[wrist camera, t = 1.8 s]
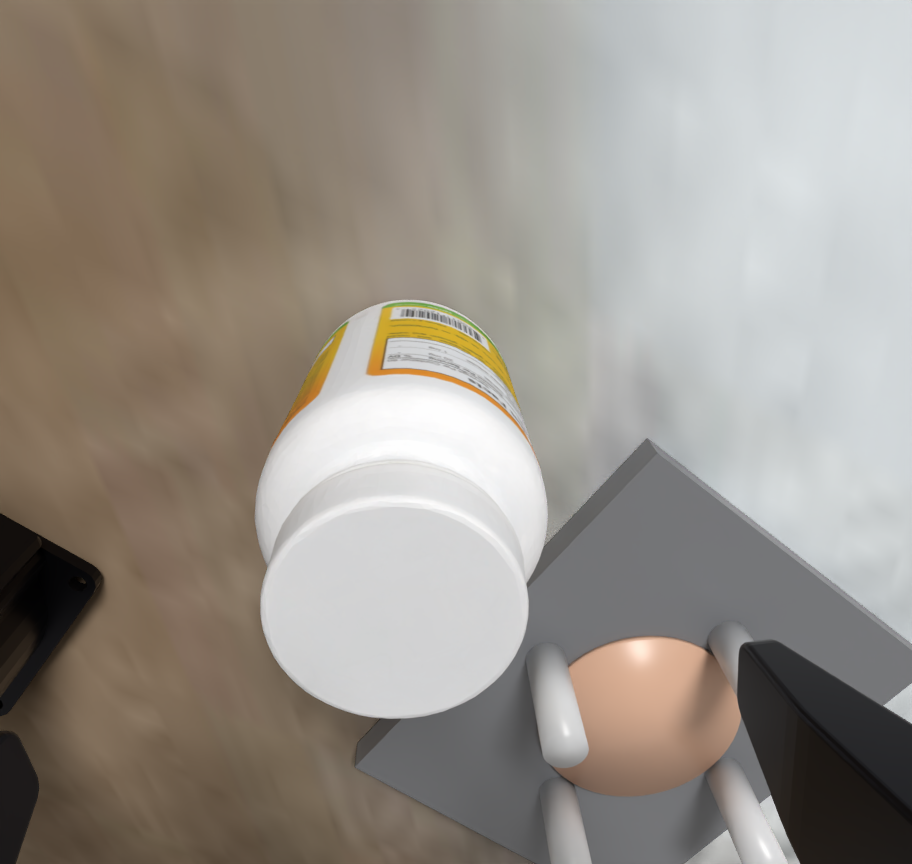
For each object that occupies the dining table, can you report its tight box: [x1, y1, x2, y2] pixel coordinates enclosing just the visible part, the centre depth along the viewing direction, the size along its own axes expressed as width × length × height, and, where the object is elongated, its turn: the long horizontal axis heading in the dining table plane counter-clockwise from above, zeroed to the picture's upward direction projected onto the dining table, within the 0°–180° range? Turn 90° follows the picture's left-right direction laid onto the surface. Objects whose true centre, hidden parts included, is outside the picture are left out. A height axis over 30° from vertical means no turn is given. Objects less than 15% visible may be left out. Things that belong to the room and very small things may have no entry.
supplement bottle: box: [255, 300, 548, 719], centre depth 15 cm, size 5×5×10 cm
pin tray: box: [355, 438, 912, 864], centre depth 22 cm, size 14×12×4 cm
